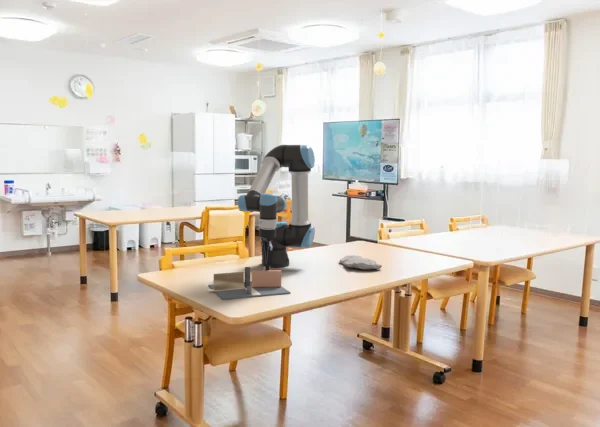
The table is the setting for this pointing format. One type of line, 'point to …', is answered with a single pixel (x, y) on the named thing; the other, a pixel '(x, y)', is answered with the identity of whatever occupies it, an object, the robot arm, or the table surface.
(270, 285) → the hinged panel
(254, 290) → the card
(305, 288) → the table surface
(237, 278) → the base
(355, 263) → the stone
